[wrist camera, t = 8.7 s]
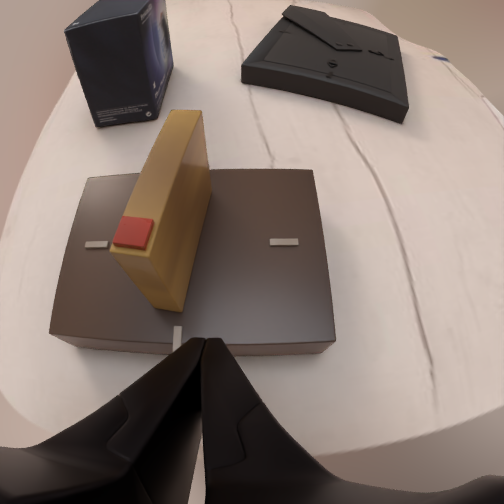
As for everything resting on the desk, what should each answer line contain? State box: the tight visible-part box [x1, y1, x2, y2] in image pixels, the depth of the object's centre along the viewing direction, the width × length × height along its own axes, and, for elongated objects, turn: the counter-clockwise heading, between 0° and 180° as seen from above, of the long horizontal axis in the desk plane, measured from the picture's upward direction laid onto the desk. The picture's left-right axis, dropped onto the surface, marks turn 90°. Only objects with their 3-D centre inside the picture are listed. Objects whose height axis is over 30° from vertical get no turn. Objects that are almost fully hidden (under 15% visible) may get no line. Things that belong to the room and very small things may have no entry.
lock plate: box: [49, 169, 336, 356], centre depth 17 cm, size 14×11×3 cm
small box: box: [64, 0, 173, 127], centre depth 22 cm, size 11×6×10 cm, turn 3°
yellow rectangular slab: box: [110, 110, 212, 312], centre depth 13 cm, size 7×1×6 cm, turn 172°
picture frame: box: [241, 5, 409, 124], centre depth 30 cm, size 16×3×21 cm
